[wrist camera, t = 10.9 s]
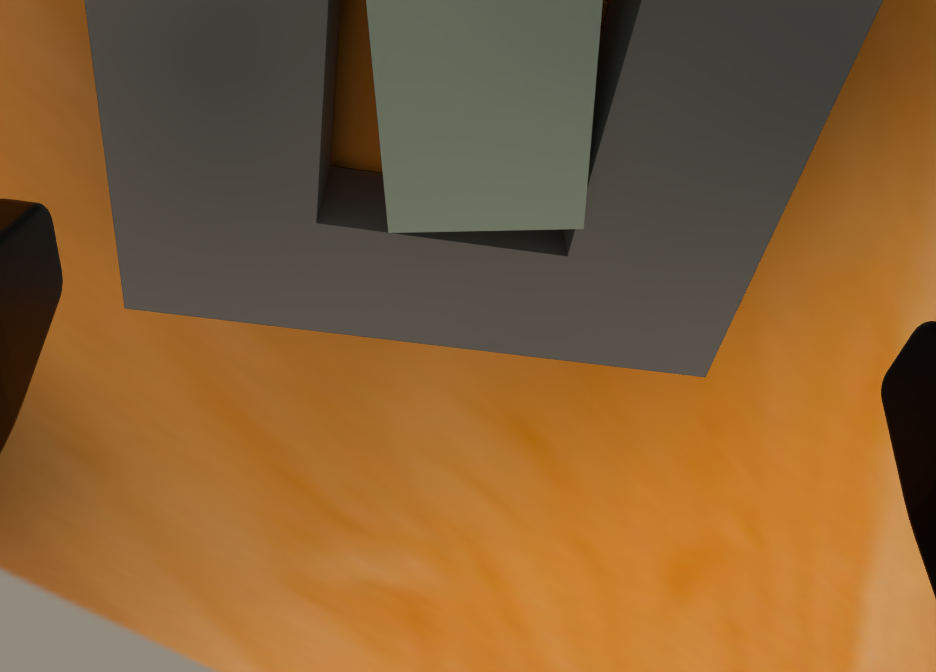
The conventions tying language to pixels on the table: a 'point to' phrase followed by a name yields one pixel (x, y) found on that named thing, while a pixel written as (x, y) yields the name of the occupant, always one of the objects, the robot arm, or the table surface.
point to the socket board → (464, 252)
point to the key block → (484, 111)
